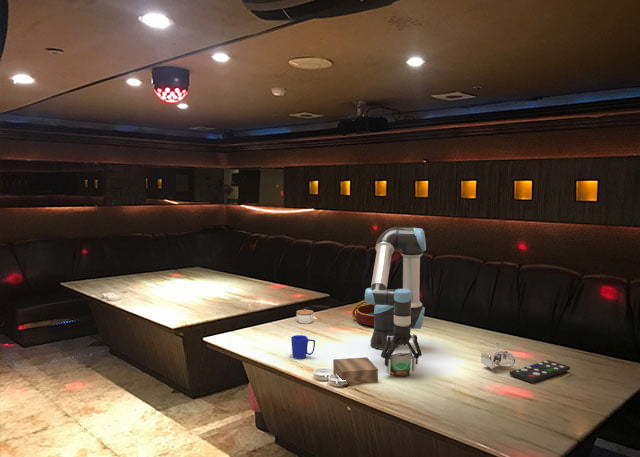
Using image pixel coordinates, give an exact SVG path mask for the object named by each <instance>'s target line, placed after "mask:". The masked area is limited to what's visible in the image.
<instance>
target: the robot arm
mask: <svg viewBox="0 0 640 457" xmlns="http://www.w3.org/2000/svg"><path fill="white" fill-rule="evenodd" d="M426 242H427V241H426V236H425V230H424V229H423V228H418V227H395V226H394V227H391V228H388V229H387V230H385V231H384V232H382V233H381V235H380V236H379V237H378V239H377V241H376V244H375V251H376V255H375V261H374V266H373V271H372V272H373V274H372V279H371V283H370V287H367V288H365V292H364V300H365V302H364V303H365V304H373V305H375V308H374V326H373V332H372V336H371V338H370V346H371V347H372V348H376V349H379V350H382V351H381V353H380V357H381V358H382V359H384V365H385V367H386V373H387V374H388V375H389V374H390V359H389V358H390V356H391V355H393V354H394V352H395V350H396V349H397V348H398V347H399V346H407V347H408V349H409V351H411V352H412V355H413V358H412V359H411V371H412V372H413V373H416V371H417V368H416V366H417V365H418V364H419V362H418V361H419V358H420V357H422V356H423V353H422V351H421V347H420V345H419V342H418V335H416V334H415V333H413V334H412V332H411V329H412V330H415V329H416V330H417V329H418V330H419V329H421V328H422V327H423V322H424V316H425V311H426V310H425V309H426V308H425V307H424V306H423V303H422V302H421V301H420V284H421V283H420V282H421V281H420V276H421V275H420V274H421V272H420V271H421V270H420V269H421V267H420V266H421V257H422V256H423V254H424V252H425V251H426V250H427V245H426V244H427V243H426ZM395 250H396V251H400V255H401V256H402V257H403V258H402V265H403V267H402V288H397V289H391V288H390V289H388V282H389V274H390V268H391V261H392V255H393V253H394V252H395ZM411 340H412V342H413V344H414V347H413V346H412V343H410V341H411Z"/></svg>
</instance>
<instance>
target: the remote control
mask: <svg viewBox="0 0 640 457" xmlns="http://www.w3.org/2000/svg"><path fill="white" fill-rule="evenodd" d="M570 370H571V366H570V365H566V364H563V363H560V362H556V361H552V360H550V359H547V360H543V361H541V362H537V363H534V364H530V365H526V366H524V367H521V368H517V369H514V370H511V371H509V376H512V377H515V378H518V379H520V380H522V381H526V382H528V383H532V384H533V383H535V382H537V381H541V380H544V379H547V378H549V377H553V376H556V375H559V374H561V373H564V372H567V371H570Z"/></svg>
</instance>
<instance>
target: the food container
mask: <svg viewBox="0 0 640 457" xmlns="http://www.w3.org/2000/svg"><path fill="white" fill-rule="evenodd" d="M413 356H414V355H413V353H412V352H411V350H409V352H407V353H406V352H404V353H402V352H398V353H395V354H394V353H392V355H391V356H390V358H389V359H390V374H388V375H389V376H391V377H395V378H407V377H410V374H411V373H410V370H411V366H412V358H413Z"/></svg>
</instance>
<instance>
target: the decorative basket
mask: <svg viewBox="0 0 640 457" xmlns="http://www.w3.org/2000/svg"><path fill="white" fill-rule="evenodd" d="M364 303H365V304H364ZM374 308H375V305H373V304H367V303H366V302H365V299H364V300H361V301H358V302H357V303H356V304H355V305H354V306H353V308H352V310H351V316H352V319H353V320H355V321H357V322H358V323H359V324H363V325H366V326H373V327H374Z"/></svg>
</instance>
